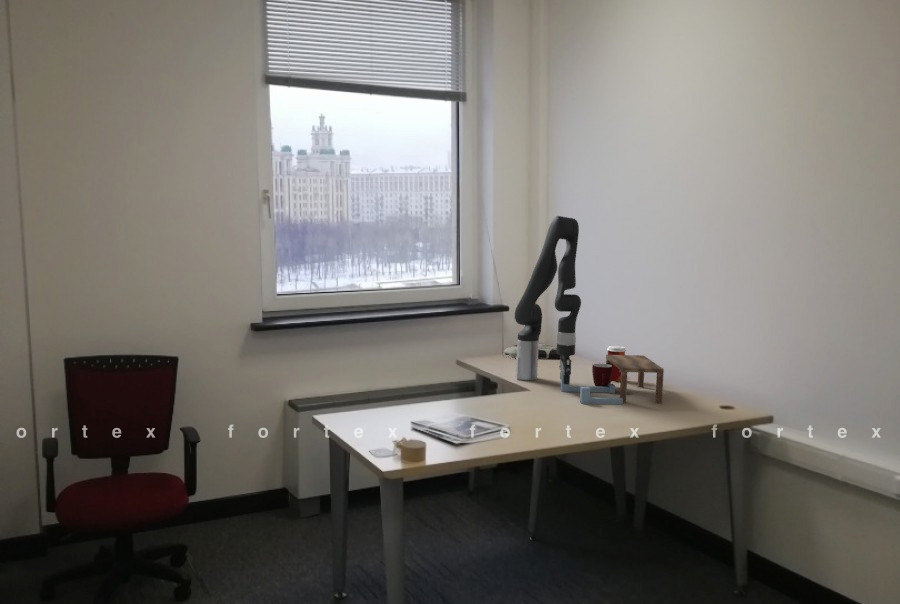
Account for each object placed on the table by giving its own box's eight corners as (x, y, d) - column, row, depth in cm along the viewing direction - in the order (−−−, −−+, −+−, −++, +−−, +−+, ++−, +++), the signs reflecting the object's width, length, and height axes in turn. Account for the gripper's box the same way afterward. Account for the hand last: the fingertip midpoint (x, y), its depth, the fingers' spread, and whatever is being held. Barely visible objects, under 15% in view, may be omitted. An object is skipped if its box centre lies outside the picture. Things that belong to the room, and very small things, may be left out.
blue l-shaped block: (581, 403, 300) (581, 388, 300) (579, 401, 303) (580, 386, 303) (622, 404, 300) (623, 389, 300) (621, 402, 304) (621, 387, 303)
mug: (615, 392, 322) (616, 368, 321) (596, 392, 321) (597, 368, 320) (607, 386, 332) (608, 363, 331) (589, 386, 331) (590, 363, 330)
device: (526, 349, 426) (526, 340, 426) (573, 354, 413) (573, 345, 412) (499, 358, 398) (499, 348, 398) (548, 364, 385) (549, 353, 384)
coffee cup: (626, 382, 342) (627, 348, 340) (607, 382, 342) (608, 348, 340) (622, 378, 350) (624, 345, 348) (603, 378, 350) (605, 345, 348)
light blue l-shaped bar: (561, 392, 320) (562, 367, 319) (560, 389, 325) (561, 365, 324) (614, 393, 320) (616, 369, 319) (612, 390, 325) (613, 367, 324)
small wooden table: (620, 402, 304) (622, 368, 303) (604, 385, 334) (606, 354, 332) (661, 403, 304) (663, 369, 303) (642, 386, 334) (643, 355, 333)
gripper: (554, 340, 328) (553, 378, 329) (559, 345, 313) (557, 385, 315) (572, 340, 328) (570, 378, 329) (578, 346, 313) (576, 385, 315)
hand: (564, 381), depth 322 cm, fingers open, 8 cm apart
